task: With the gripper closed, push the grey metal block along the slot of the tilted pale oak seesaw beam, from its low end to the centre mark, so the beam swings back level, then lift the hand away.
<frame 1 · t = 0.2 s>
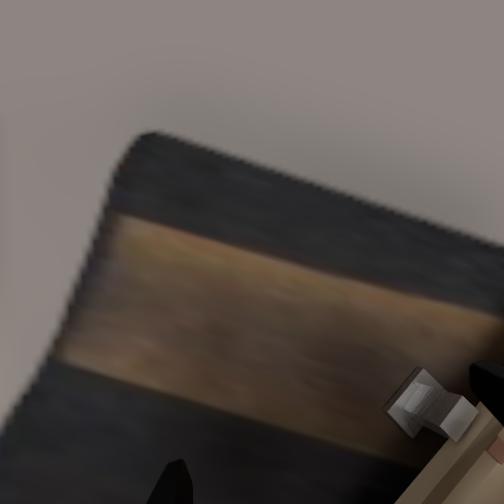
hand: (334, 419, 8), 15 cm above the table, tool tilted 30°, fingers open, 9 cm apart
pivot stand: (466, 455, 21), on the table
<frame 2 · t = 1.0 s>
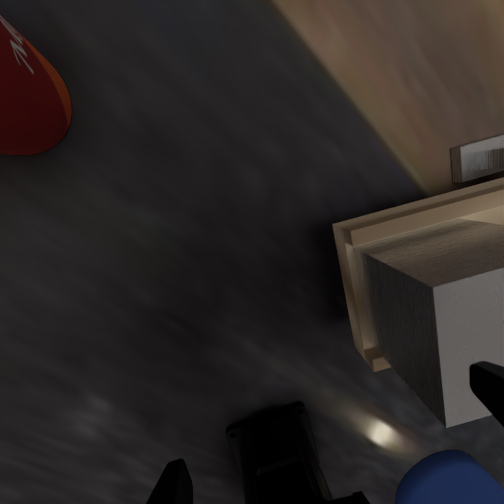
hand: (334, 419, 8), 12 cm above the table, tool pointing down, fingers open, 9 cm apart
pivot stand: (482, 225, 21), on the table
metal block: (412, 283, 16), point 5 cm above the table, touching oak beam
paper cup: (18, 102, 15), on the table
water bottle: (436, 486, 27), on the table
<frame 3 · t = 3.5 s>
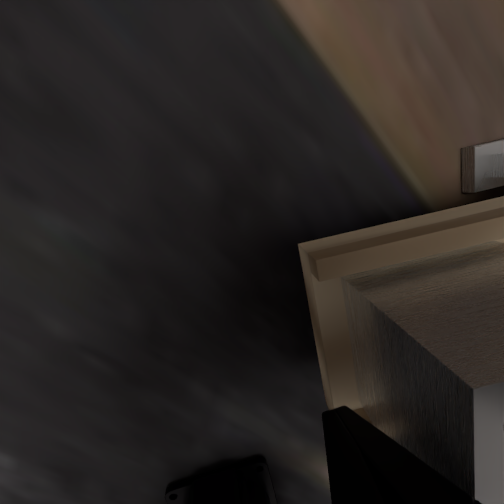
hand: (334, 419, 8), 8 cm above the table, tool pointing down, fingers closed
pivot stand: (495, 247, 17), on the table
metal block: (420, 325, 12), point 5 cm above the table, touching gripper, oak beam
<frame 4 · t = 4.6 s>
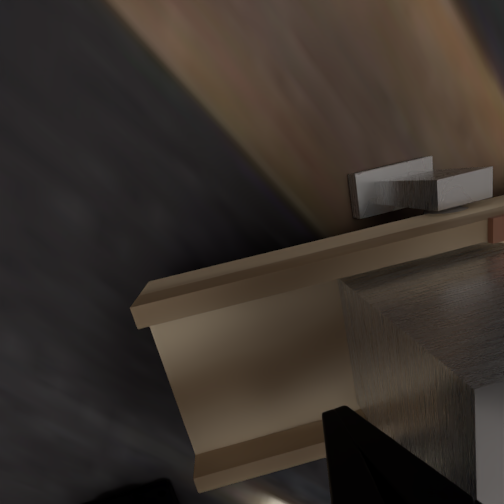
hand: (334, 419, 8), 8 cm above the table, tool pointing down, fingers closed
pivot stand: (394, 271, 17), on the table
metal block: (416, 325, 12), point 5 cm above the table, touching gripper, oak beam
oak beam: (465, 304, 12), point 5 cm above the table, hinge at -2.5°, touching metal block
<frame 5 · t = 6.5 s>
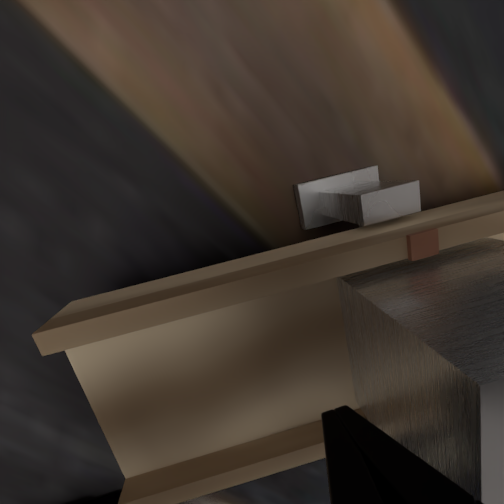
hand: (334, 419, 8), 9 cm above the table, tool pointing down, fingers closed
pivot stand: (347, 280, 17), on the table
metal block: (414, 322, 12), point 6 cm above the table, touching gripper, oak beam
oak beam: (401, 319, 12), point 5 cm above the table, hinge at -1.4°, touching metal block
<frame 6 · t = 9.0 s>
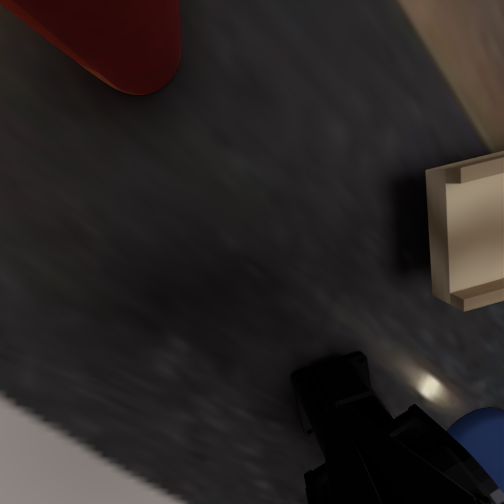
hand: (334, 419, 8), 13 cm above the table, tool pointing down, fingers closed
paper cup: (132, 43, 16), on the table
water bottle: (474, 442, 29), on the table
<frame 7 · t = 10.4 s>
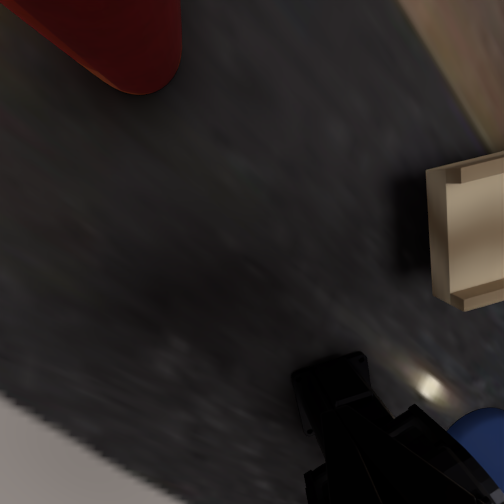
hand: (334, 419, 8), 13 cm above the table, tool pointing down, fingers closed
paper cup: (132, 43, 16), on the table
water bottle: (474, 442, 29), on the table
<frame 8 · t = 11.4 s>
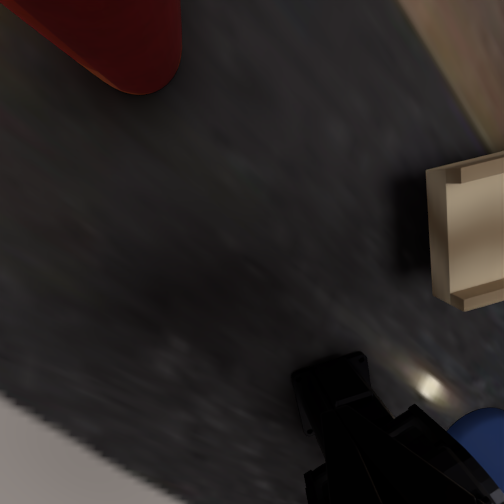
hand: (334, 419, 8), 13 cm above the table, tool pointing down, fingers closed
paper cup: (132, 43, 16), on the table
water bottle: (474, 442, 29), on the table
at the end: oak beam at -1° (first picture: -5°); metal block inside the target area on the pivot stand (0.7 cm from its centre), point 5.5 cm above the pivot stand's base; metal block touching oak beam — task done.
